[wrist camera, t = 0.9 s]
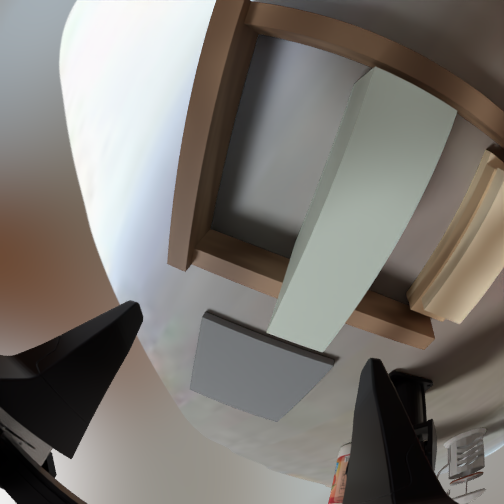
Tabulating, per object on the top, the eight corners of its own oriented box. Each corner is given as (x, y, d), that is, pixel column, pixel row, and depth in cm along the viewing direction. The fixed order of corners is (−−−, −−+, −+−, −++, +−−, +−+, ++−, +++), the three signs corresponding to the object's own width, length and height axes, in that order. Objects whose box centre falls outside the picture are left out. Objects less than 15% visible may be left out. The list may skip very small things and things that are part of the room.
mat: (334, 359, 26) (333, 365, 25) (278, 417, 36) (276, 422, 35) (205, 311, 27) (202, 317, 26) (191, 385, 37) (189, 389, 37)
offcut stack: (517, 177, 12) (542, 194, 9) (440, 305, 20) (449, 335, 17) (483, 148, 12) (508, 161, 10) (405, 290, 20) (411, 321, 17)
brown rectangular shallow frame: (525, 145, 10) (556, 160, 7) (419, 324, 21) (425, 359, 17) (242, 12, 12) (218, -7, 9) (191, 237, 23) (167, 264, 19)
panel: (398, 103, 13) (457, 110, 6) (332, 256, 20) (322, 352, 13) (354, 84, 13) (375, 66, 6) (295, 242, 20) (266, 332, 13)
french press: (479, 440, 30) (475, 538, 10) (432, 452, 35) (420, 552, 15) (492, 422, 26) (492, 536, 6) (440, 438, 31) (429, 556, 11)
